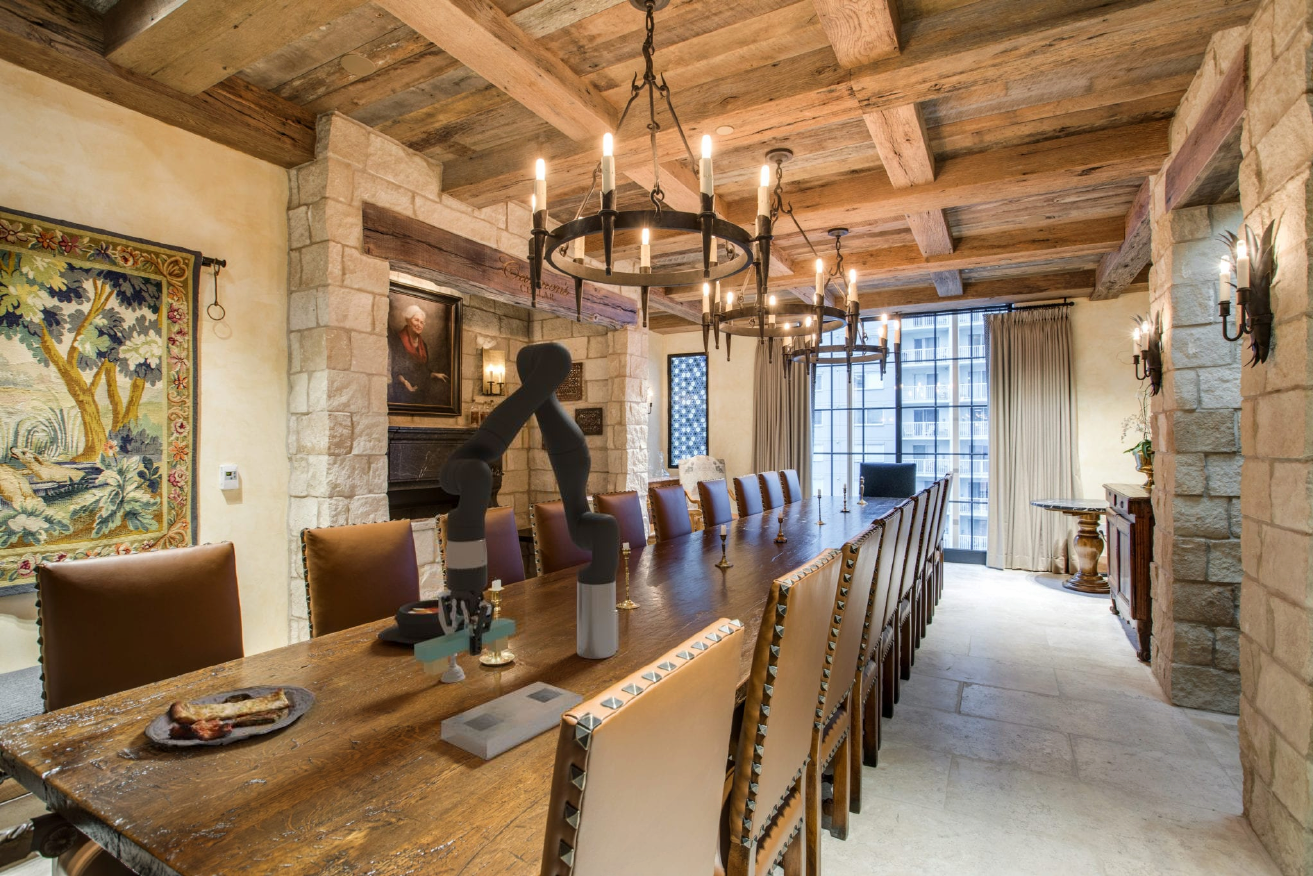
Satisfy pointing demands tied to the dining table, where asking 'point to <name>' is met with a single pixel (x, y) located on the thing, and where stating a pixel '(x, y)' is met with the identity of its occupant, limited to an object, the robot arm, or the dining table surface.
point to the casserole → (415, 623)
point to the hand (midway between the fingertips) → (467, 651)
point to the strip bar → (461, 645)
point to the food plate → (228, 715)
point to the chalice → (453, 670)
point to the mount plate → (508, 719)
